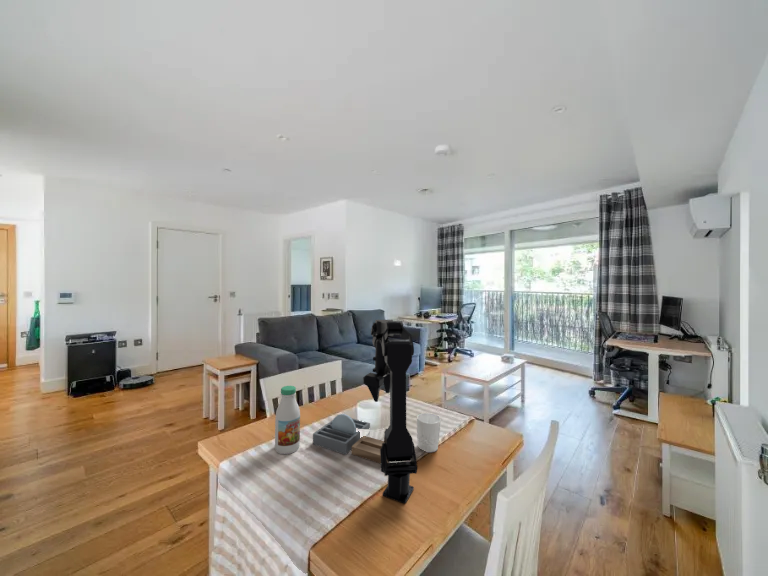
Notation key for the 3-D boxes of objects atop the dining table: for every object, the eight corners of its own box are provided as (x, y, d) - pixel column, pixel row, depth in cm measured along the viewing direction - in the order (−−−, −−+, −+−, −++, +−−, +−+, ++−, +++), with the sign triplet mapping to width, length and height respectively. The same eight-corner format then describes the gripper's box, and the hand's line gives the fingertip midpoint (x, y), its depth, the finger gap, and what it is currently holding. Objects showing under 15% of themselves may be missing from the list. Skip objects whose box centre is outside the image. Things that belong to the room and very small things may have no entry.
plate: (350, 446, 106) (356, 422, 105) (329, 433, 110) (335, 410, 109) (352, 444, 107) (358, 421, 106) (331, 432, 111) (337, 409, 110)
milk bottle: (269, 452, 100) (270, 390, 99) (284, 440, 107) (285, 382, 106) (290, 457, 98) (291, 393, 97) (304, 444, 105) (305, 385, 104)
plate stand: (386, 465, 95) (386, 457, 95) (351, 454, 100) (351, 446, 100) (396, 452, 102) (396, 444, 102) (363, 442, 107) (363, 435, 107)
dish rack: (345, 454, 100) (346, 443, 100) (312, 443, 106) (312, 433, 105) (369, 432, 114) (370, 422, 114) (339, 424, 120) (339, 415, 120)
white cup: (438, 441, 109) (439, 413, 109) (440, 454, 102) (441, 424, 101) (415, 439, 110) (416, 411, 110) (415, 452, 102) (416, 422, 102)
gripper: (393, 364, 101) (391, 411, 102) (413, 352, 118) (412, 393, 119) (362, 359, 106) (361, 404, 107) (386, 348, 123) (385, 387, 124)
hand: (381, 397), depth 114 cm, fingers open, 9 cm apart
